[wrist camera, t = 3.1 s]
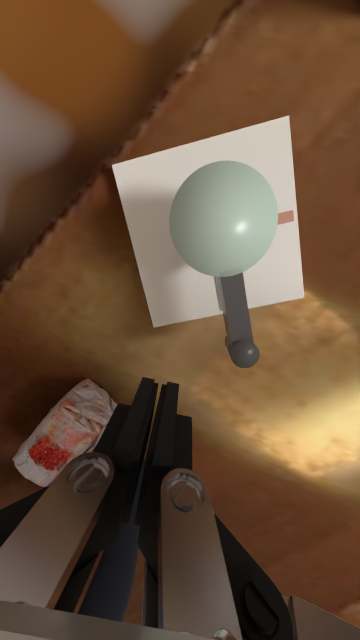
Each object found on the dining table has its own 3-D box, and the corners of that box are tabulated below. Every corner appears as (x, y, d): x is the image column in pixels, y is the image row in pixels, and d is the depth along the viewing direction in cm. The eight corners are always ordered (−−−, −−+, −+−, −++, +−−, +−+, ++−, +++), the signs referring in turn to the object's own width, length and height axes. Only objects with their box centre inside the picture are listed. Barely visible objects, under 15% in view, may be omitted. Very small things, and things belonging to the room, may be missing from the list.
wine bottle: (114, 455, 38) (-127, 1067, 9) (151, 456, 38) (23, 1093, 9) (118, 484, 40) (-78, 1083, 11) (153, 485, 39) (50, 1105, 10)
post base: (298, 295, 30) (304, 297, 28) (155, 324, 32) (153, 328, 30) (283, 124, 25) (289, 114, 24) (115, 170, 27) (111, 164, 26)
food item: (86, 367, 34) (46, 408, 25) (127, 398, 35) (104, 448, 26) (41, 422, 37) (-11, 477, 28) (79, 449, 38) (43, 511, 29)
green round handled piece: (164, 192, 22) (157, 174, 17) (256, 167, 21) (273, 143, 17) (199, 356, 26) (200, 375, 22) (277, 342, 25) (295, 359, 21)
